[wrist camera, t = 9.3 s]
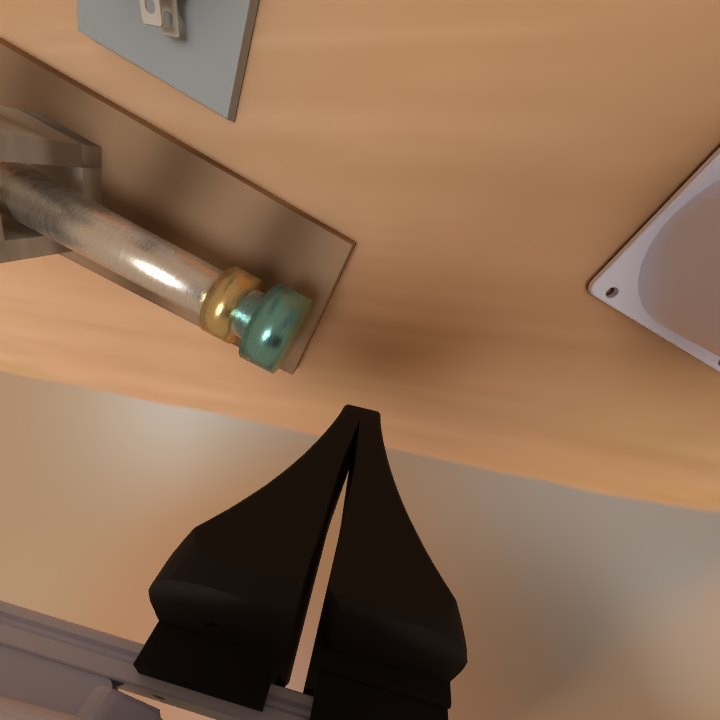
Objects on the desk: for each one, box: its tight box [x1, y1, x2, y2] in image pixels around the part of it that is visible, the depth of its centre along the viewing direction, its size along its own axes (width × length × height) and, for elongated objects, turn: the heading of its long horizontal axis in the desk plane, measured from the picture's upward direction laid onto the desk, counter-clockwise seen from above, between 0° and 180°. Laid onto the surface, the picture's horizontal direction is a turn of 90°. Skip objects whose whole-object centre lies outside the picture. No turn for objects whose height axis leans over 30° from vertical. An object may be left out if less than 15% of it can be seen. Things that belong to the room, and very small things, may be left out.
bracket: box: [0, 38, 356, 374], centre depth 14 cm, size 19×9×6 cm, turn 63°
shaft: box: [0, 161, 313, 374], centre depth 14 cm, size 15×4×4 cm, turn 63°
